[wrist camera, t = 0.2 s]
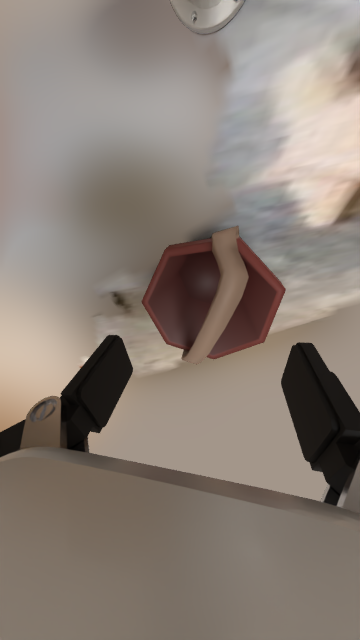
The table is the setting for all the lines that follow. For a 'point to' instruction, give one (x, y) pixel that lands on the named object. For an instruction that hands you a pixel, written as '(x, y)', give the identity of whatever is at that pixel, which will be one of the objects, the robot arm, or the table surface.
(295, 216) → the table surface
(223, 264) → the bucket
